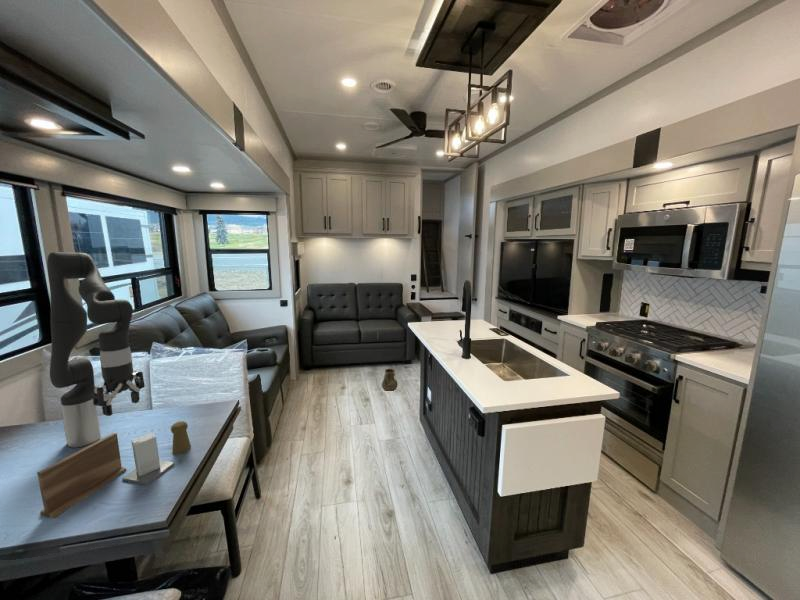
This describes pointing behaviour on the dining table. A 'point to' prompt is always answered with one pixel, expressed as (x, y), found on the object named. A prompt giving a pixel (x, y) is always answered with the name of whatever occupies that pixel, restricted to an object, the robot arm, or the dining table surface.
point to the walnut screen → (79, 475)
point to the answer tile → (148, 474)
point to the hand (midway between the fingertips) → (122, 408)
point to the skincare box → (146, 454)
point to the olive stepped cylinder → (180, 438)
